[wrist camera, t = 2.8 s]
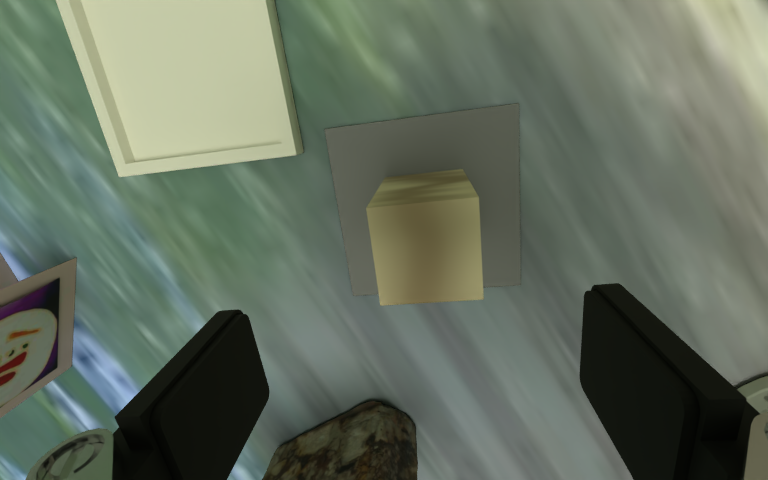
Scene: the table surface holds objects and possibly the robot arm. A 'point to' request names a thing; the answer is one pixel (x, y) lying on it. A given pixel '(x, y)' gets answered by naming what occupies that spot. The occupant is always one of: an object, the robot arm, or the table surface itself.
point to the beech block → (426, 238)
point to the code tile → (424, 155)
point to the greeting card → (34, 330)
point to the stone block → (351, 448)
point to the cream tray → (185, 81)
